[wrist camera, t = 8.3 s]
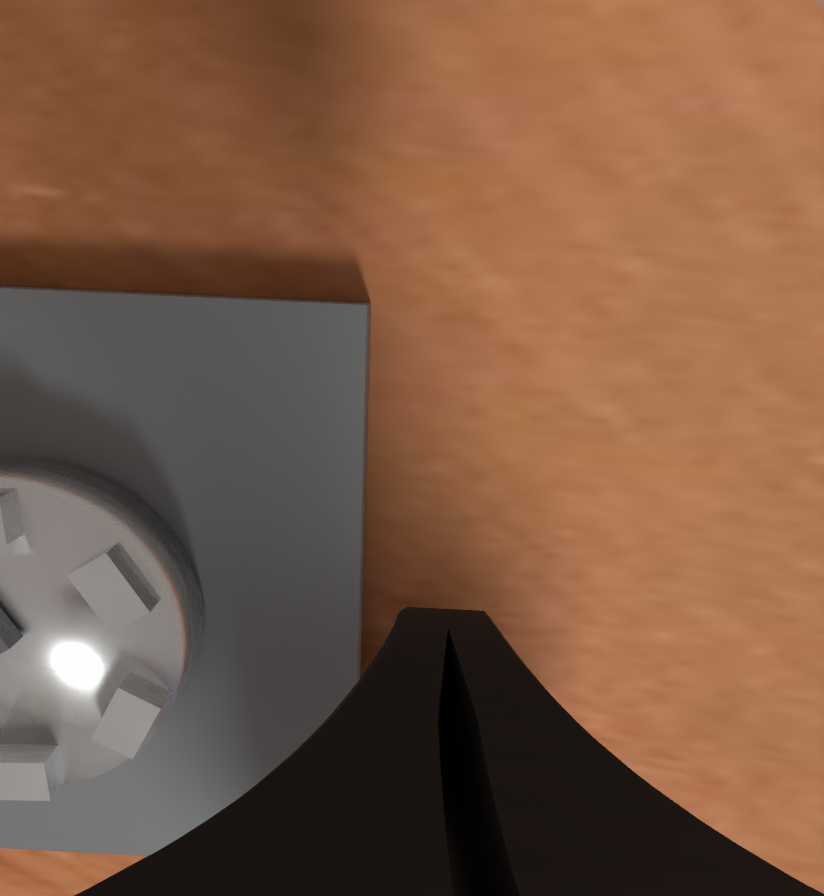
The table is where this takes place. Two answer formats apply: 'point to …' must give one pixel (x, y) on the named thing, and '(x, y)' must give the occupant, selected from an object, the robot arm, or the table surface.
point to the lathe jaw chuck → (85, 625)
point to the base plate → (207, 523)
